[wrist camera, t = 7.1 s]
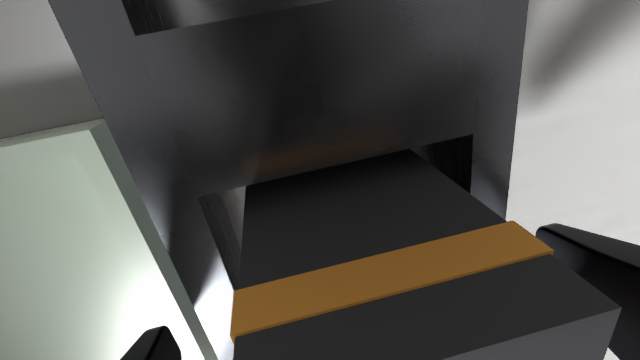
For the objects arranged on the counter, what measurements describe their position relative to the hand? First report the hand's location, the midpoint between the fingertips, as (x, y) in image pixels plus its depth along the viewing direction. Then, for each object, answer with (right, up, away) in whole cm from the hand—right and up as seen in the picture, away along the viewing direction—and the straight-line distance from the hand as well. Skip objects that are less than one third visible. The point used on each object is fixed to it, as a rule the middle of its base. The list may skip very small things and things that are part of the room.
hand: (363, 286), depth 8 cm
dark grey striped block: (0, +1, +2) cm, 2 cm away
